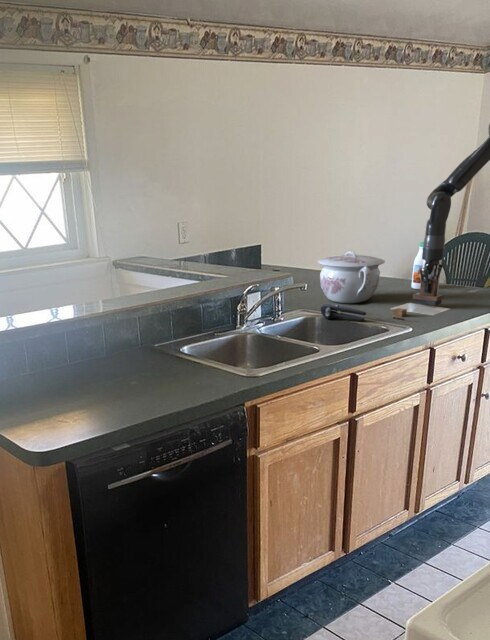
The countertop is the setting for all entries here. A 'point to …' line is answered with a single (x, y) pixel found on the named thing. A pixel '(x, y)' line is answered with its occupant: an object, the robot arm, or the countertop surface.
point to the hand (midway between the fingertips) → (428, 291)
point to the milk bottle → (417, 268)
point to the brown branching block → (428, 294)
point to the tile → (421, 308)
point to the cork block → (399, 313)
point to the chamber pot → (349, 277)
